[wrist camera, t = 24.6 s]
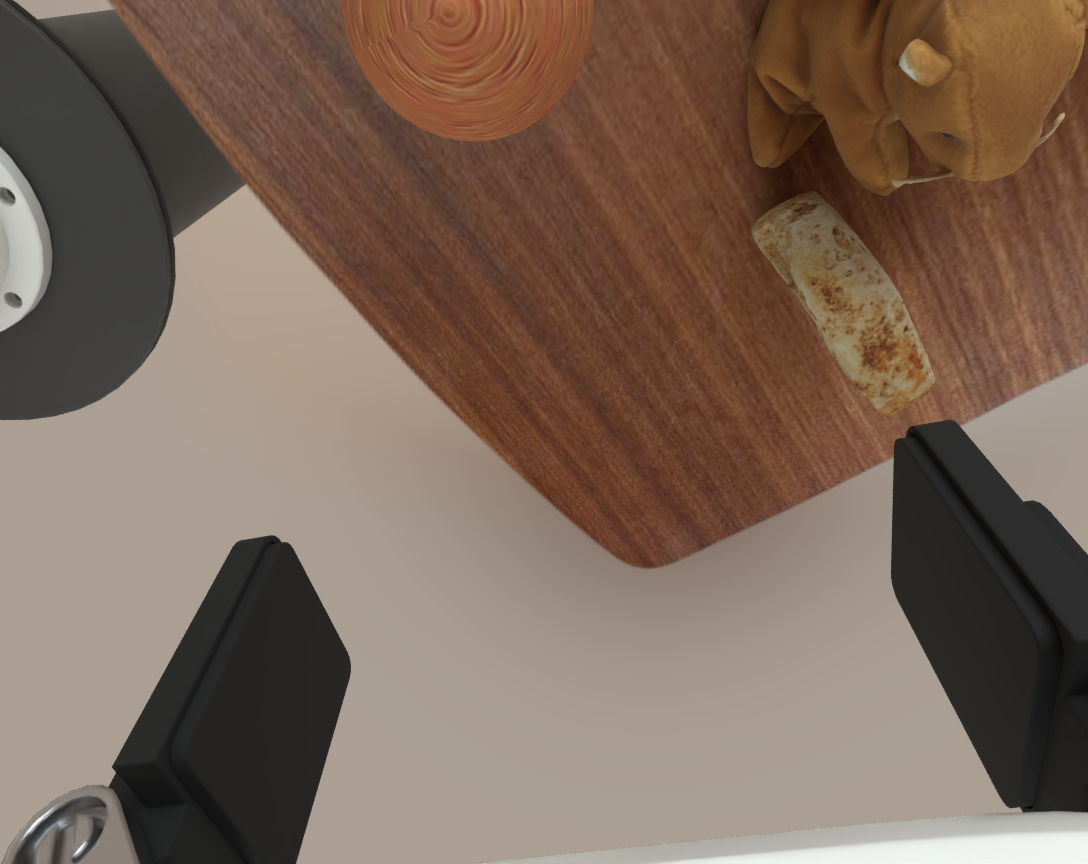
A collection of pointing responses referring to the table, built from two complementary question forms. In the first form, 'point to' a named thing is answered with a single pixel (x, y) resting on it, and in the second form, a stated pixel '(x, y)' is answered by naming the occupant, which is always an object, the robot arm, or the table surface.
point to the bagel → (847, 300)
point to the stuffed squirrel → (912, 82)
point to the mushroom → (470, 59)
